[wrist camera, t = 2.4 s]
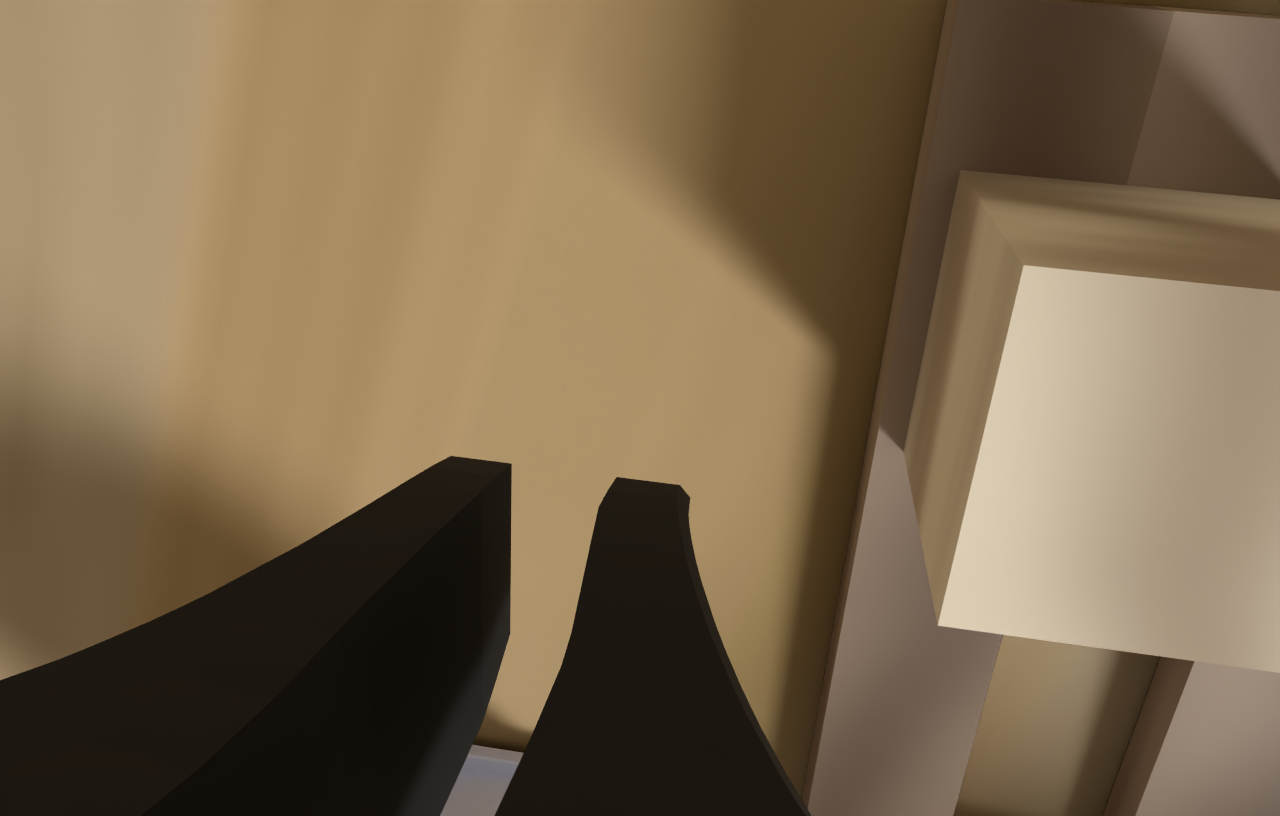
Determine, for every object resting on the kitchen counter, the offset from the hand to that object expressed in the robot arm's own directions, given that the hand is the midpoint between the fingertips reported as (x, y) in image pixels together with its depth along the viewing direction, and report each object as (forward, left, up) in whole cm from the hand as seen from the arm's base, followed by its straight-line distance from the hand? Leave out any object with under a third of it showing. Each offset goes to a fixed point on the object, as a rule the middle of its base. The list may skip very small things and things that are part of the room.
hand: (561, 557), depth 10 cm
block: (+7, 0, -8) cm, 11 cm away
